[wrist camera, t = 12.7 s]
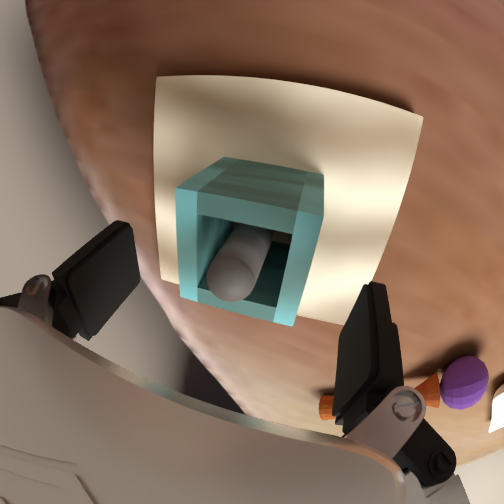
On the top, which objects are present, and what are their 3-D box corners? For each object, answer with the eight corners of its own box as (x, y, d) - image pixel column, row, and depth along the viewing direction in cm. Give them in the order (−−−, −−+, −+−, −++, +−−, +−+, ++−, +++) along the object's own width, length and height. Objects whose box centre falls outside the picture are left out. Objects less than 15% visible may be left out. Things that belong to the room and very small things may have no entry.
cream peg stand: (168, 77, 15) (56, 82, 7) (415, 115, 13) (504, 140, 5) (169, 269, 24) (109, 346, 16) (349, 313, 21) (347, 416, 13)
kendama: (310, 412, 25) (496, 377, 15) (322, 374, 30) (483, 338, 20) (324, 438, 26) (488, 410, 16) (334, 403, 31) (480, 373, 21)
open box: (223, 156, 16) (175, 188, 11) (324, 175, 15) (323, 217, 10) (218, 241, 19) (180, 296, 14) (304, 261, 18) (292, 326, 13)
